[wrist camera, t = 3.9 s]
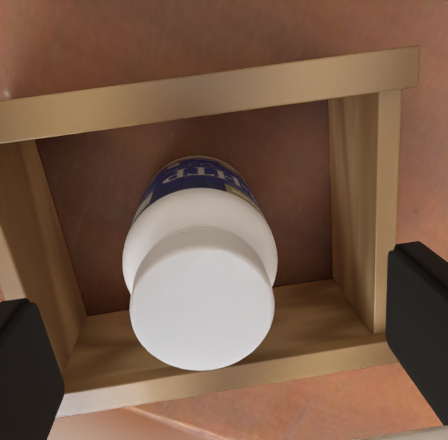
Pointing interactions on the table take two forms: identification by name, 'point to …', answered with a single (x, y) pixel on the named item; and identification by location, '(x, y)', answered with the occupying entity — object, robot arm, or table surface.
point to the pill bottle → (200, 266)
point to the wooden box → (284, 295)
